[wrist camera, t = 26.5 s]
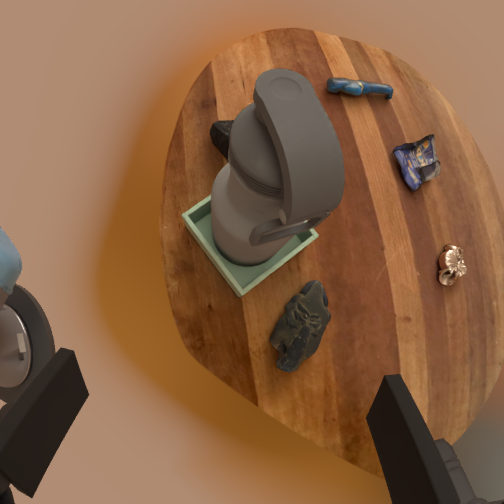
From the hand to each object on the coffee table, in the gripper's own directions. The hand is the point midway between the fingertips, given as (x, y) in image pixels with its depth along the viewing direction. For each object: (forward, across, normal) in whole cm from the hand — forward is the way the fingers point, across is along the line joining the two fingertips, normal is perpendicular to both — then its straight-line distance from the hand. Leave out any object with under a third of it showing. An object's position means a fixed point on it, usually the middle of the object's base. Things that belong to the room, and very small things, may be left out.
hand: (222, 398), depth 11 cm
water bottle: (+33, 0, +2) cm, 33 cm away
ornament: (+36, -37, +6) cm, 52 cm away
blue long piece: (+51, -20, -24) cm, 60 cm away
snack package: (+44, -31, -10) cm, 55 cm away
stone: (+28, -8, +14) cm, 32 cm away
